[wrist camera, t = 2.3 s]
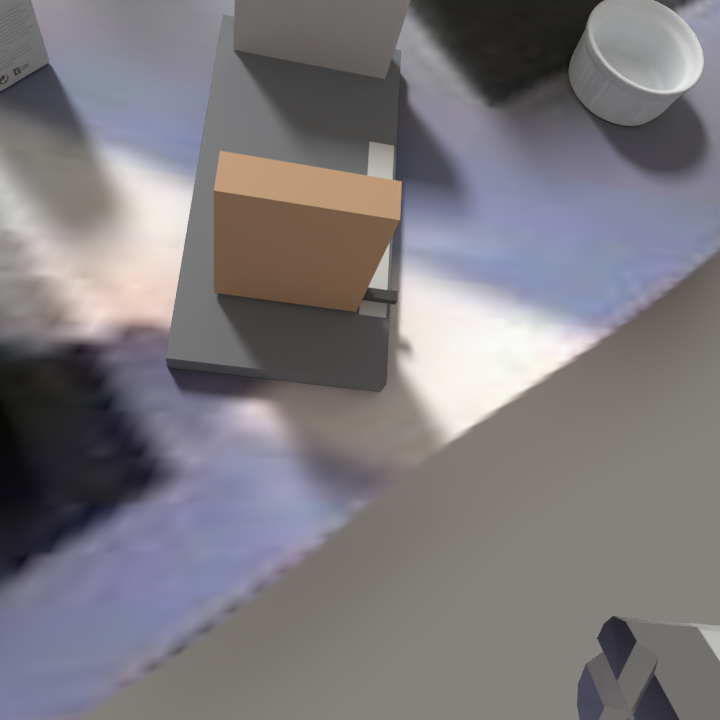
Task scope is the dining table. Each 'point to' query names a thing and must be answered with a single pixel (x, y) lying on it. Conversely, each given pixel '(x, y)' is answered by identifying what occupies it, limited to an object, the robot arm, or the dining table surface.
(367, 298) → the paddle
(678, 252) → the dining table surface
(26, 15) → the skincare box
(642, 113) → the ramekin
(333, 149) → the gauge board
